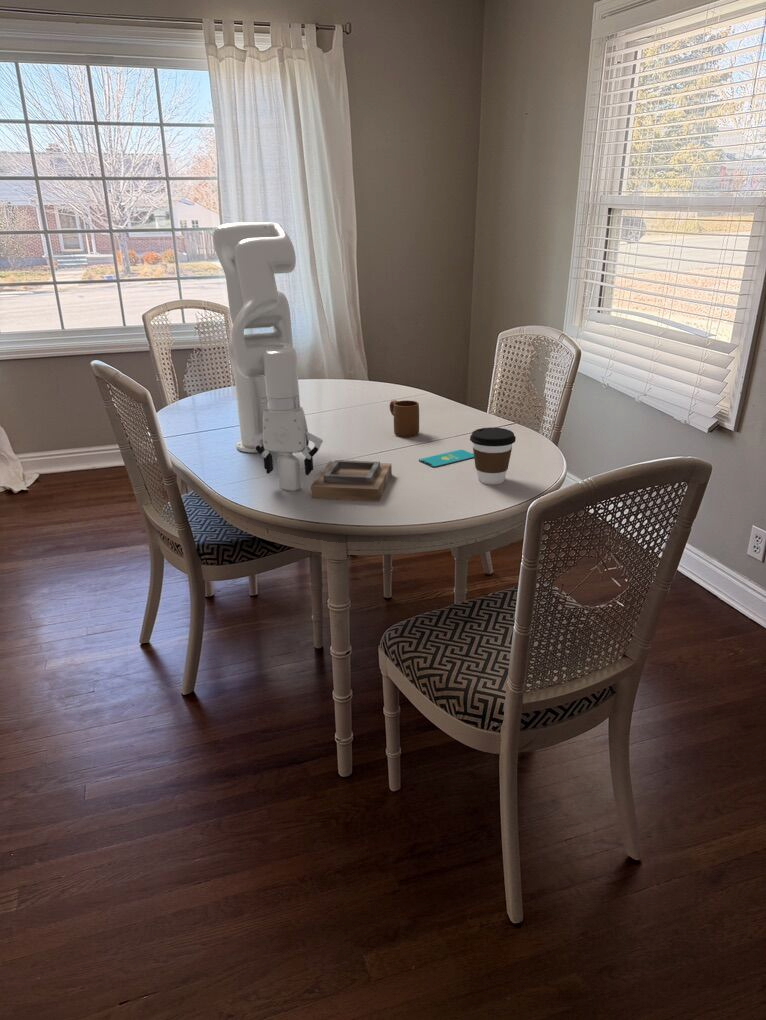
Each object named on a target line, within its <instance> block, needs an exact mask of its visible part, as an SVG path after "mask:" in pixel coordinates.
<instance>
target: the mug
mask: <svg viewBox="0 0 766 1020" xmlns="http://www.w3.org/2000/svg"><path fill="white" fill-rule="evenodd" d="M389 412H390V413H391V415H392V416H393V434H394V435H395V436H397V437H399V438H413V437H416V436H418V435H419V433H420V403H419V402H418V401H415V400H399V401H398V400H396V399H393V400H391V401H390V402H389Z"/></svg>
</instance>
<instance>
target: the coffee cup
mask: <svg viewBox="0 0 766 1020" xmlns="http://www.w3.org/2000/svg"><path fill="white" fill-rule="evenodd" d="M516 438H517V437H516V435H515V432H513V431H512V430H510V429H507V428H502V427H492V426H491V427H482V428H477V429H475V430H473V431H472V432H471V434H470V437H469V441H470V442H471V443H472V452H473V453H472V454H474V458H473V459H474V460H473V461H474V467H475V469H476V476H477V480H478V481H479V482H480V483H482V484H484V485H485V484H486V485H499V484H502V483H503V482H504V481H505V479H506V475H507V470H509V466H510V465H509V464H510V459H511V455H512V451H513V444H514V443H516Z"/></svg>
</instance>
